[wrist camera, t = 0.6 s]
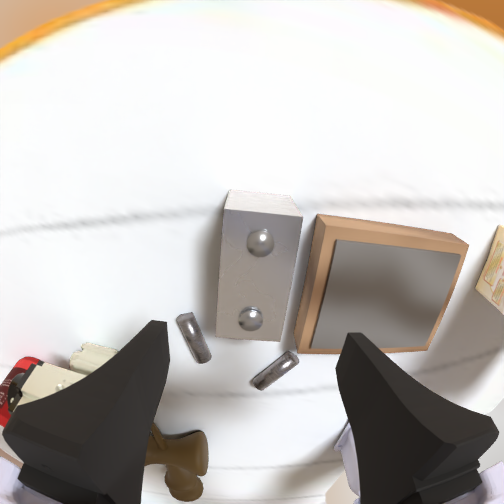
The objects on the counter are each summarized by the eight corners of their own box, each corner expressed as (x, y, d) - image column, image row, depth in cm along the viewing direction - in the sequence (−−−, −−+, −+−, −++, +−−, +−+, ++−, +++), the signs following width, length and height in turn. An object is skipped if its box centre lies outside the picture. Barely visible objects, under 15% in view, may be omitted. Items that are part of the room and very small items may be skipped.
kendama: (158, 470, 36) (115, 397, 28) (219, 474, 36) (201, 403, 28) (153, 501, 31) (101, 440, 22) (218, 507, 31) (197, 451, 23)
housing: (274, 299, 23) (280, 344, 18) (221, 295, 23) (215, 339, 18) (290, 195, 20) (304, 218, 15) (229, 189, 20) (223, 210, 15)
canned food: (74, 409, 29) (45, 476, 19) (24, 383, 28) (-11, 442, 18) (70, 373, 26) (30, 449, 16) (15, 344, 25) (-32, 408, 15)
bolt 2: (263, 380, 27) (265, 392, 25) (252, 375, 26) (254, 387, 25) (296, 354, 25) (300, 365, 24) (285, 348, 25) (289, 360, 24)
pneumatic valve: (162, 385, 27) (135, 492, 16) (60, 359, 26) (11, 444, 15) (160, 344, 24) (122, 463, 13) (48, 318, 24) (-16, 405, 13)
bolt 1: (211, 350, 25) (211, 361, 24) (196, 354, 25) (196, 365, 24) (193, 310, 23) (193, 319, 22) (177, 314, 23) (176, 324, 22)
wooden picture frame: (415, 334, 25) (428, 352, 22) (293, 333, 24) (298, 356, 21) (451, 233, 21) (471, 246, 18) (317, 214, 20) (327, 226, 18)
